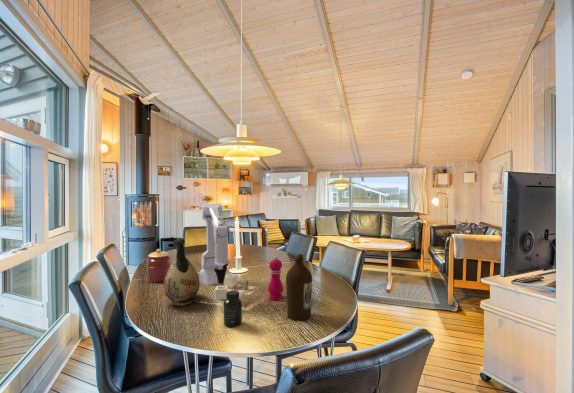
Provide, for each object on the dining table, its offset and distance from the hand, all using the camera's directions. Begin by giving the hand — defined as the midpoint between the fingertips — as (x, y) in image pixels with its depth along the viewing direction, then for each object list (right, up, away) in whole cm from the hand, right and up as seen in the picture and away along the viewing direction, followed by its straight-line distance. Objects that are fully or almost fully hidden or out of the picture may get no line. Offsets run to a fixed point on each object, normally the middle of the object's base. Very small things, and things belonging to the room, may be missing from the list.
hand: (221, 281), depth 136 cm
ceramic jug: (-17, -9, -3) cm, 20 cm away
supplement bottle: (+10, -10, -24) cm, 28 cm away
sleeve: (0, -9, 0) cm, 9 cm away
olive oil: (+35, -10, -17) cm, 40 cm away
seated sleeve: (+1, -7, +15) cm, 16 cm away
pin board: (+5, -9, +13) cm, 17 cm away
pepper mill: (+25, -9, +3) cm, 27 cm away
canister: (-44, -9, +34) cm, 56 cm away
